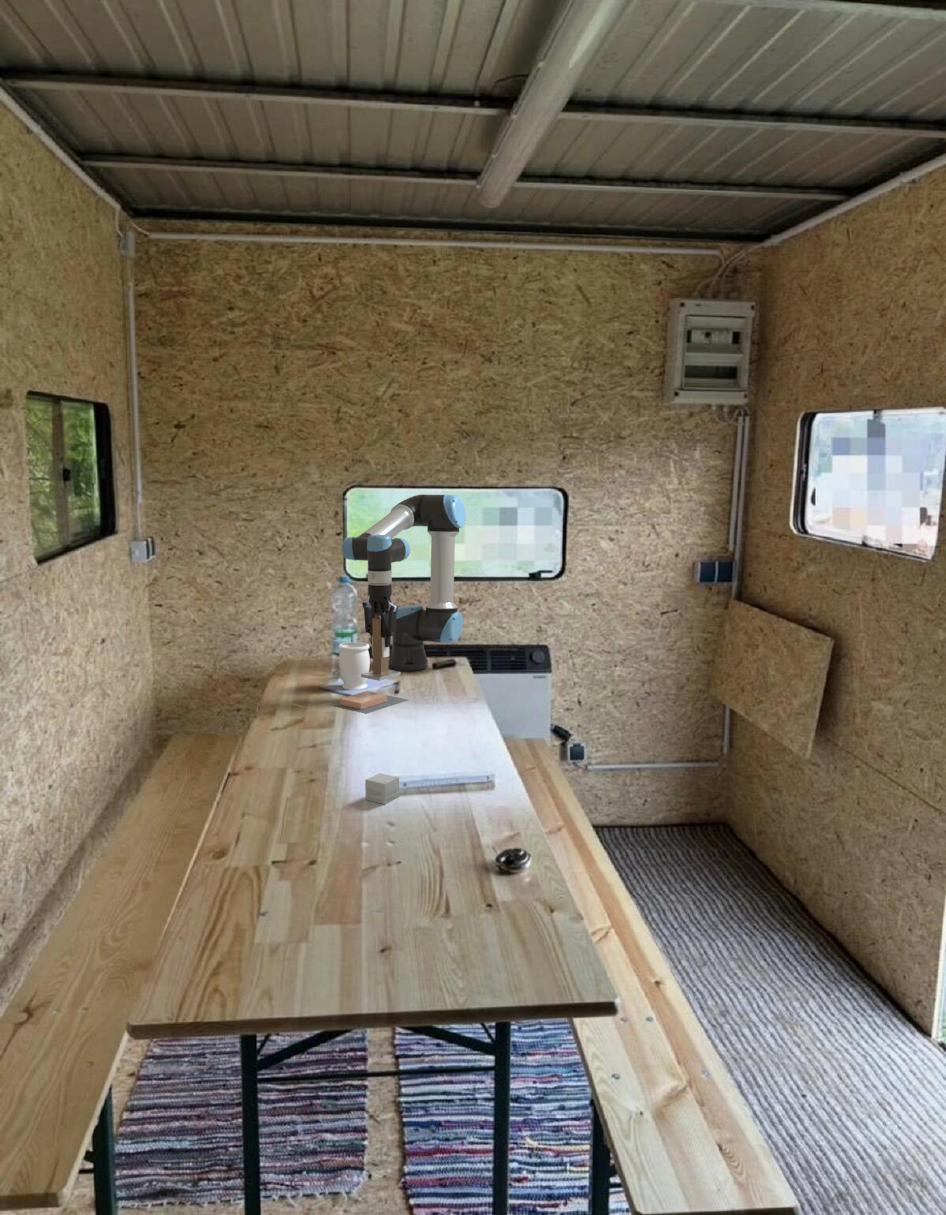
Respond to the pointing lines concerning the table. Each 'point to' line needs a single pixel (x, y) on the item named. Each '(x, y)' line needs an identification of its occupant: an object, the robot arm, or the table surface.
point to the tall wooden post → (379, 655)
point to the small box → (382, 788)
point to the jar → (354, 664)
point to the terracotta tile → (363, 700)
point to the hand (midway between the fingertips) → (380, 655)
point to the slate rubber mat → (390, 702)
